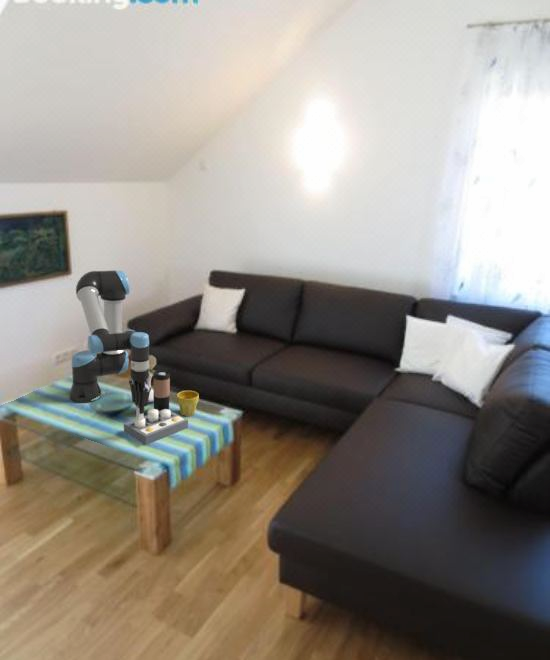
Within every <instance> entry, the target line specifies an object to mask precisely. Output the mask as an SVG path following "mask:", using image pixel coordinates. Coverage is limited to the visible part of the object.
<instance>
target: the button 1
mask: <svg viewBox="0 0 550 660" xmlns="http://www.w3.org/2000/svg"><path fill="white" fill-rule="evenodd" d="M134 420H135V427H136V428H137V429H140V428H143V427H145V418H144V419H142V420H139V421H138V420H136V418H134Z"/></svg>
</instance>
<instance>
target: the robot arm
mask: <svg viewBox="0 0 550 660" xmlns="http://www.w3.org/2000/svg"><path fill="white" fill-rule="evenodd" d="M75 287H76V288H75V294H76V297H77V300H78V301H80V303H81V306H82V309H83V313H84V316H85V319H86V323H87V327H88V329H89V330H88V331H89V333H90V335H89V336H88V338H87V346H88V349H86V350H81V351H78V352H76V353H74V354H73V355H72V358H71V373H72V374H71V375H72V384H71V387H70V390H69V393H68V395H69V396H68V397H69V399H70V401H72V402H75V403H80V404H81V403H82V404H83V403H91V402H90V401H91V400H92V399H94V398H96V397H98V396H100V395H101V396H102V389H101V387H100V384H99V382H98V377H105V376H113V375H119V374H123V373H126V371H127V370H128V367H129V363H130V378H131V379H132V380H131V379H130V380H129V381H128V384H129V386H130V392H131V399H132V402H133V403H134V405H135V411H136V412H135V414H136V415H135V416H136V417H135V419H136V420H138V421H139V420H142V419H144V416H145V415H144V413H145V407H147V406H149V405H148V404H149V402H148V399H149V394H150V391H151V388H152V387H148V386H147V378H148V377H149V371H150V370H149V369H148V368H149V356H150V339H149V338H150V337H149V334H147V333H146V332H141V331H138V332H137V331H136V330H135V329H127V330H124V331H123V302H124V301H125V300H126V296H127V295H130V291H131V287H130V281H129V278H128V275H127V273H126V271H123V270H93V271H88V272H86V273H84V274H83V275H82V276H81V277H79V280H78V281H77V283H76V286H75ZM99 296H100V299H101V300H102V301H103V309H102V306H101V303H100V300H99ZM128 350H129V351H130V359H129V353H128ZM129 361H130V362H129ZM133 403H132V404H133Z"/></svg>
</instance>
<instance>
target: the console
mask: <svg viewBox="0 0 550 660" xmlns="http://www.w3.org/2000/svg"><path fill="white" fill-rule="evenodd" d="M160 416H161V411H158V422H156V423H153V424H151V423H149V422H148V414H146V415H144V418H145V427H143V428H140V429H137V428H136V427H135V419H132V420H130V421H127V422H124V423H123V432H124V433H126V434H127V435H128V434H129V435H128V436H131V437H132V438H133V439H135V440H137V441H139V442H140V443H141V444H143V445H145V446H147V445H149V444H152V443H155V442H157V441H159V440H162V439H164V438H167V437H169V436H172V435H174V434H177V433H179V432H181V431H182V432H183V431H184V430H187V429H188V428H189V419H186V418H185V417H183V416H181V415H179V414H177V413H175V412H174V411H171V417H169V418H167V419H163V418H161V417H160ZM177 416H179V417H181V418H183V419H185V420H183V421H180V422H178V423H175V424H172V425H170V426H167V427H165V428H162V429H159V430H157V431H154V432H152V433H149V434H144V433H142V432H141V431H140V430H142V429H145V428H148V427H150V426H153V425H156V424H158V423H161V422H164V421H166V420H169V419H172V418H174V417H177Z"/></svg>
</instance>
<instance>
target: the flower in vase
mask: <svg viewBox="0 0 550 660" xmlns="http://www.w3.org/2000/svg"><path fill="white" fill-rule="evenodd" d="M156 365H157V358H156V357H155V356H154V355H152V354H150V355H149V368H148V369H149V377H148V378H147V386H148V387H151V383H152V382H151V381H152V378H153V377H154V372H155V371H156V370H155V369H154V368H155V367H156ZM153 391H154V388H152V387H151V391H150V394H149V399H148V403H154V397H153Z"/></svg>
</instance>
